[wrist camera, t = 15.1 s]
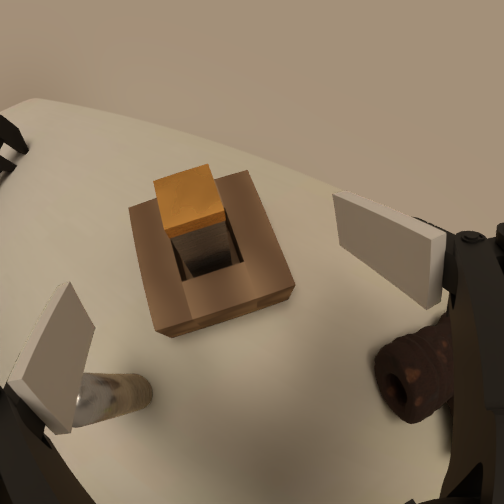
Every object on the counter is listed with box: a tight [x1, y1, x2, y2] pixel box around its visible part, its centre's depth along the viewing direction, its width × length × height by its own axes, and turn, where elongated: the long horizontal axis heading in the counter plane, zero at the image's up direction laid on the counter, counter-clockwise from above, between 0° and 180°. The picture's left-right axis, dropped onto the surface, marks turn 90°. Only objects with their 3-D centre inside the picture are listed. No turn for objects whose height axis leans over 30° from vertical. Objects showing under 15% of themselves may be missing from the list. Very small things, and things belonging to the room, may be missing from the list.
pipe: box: [375, 312, 454, 424], centre depth 21 cm, size 10×15×15 cm
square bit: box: [153, 164, 232, 278], centre depth 23 cm, size 4×4×11 cm
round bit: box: [72, 373, 153, 428], centre depth 19 cm, size 3×3×11 cm
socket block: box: [129, 170, 295, 338], centre depth 26 cm, size 11×11×5 cm
